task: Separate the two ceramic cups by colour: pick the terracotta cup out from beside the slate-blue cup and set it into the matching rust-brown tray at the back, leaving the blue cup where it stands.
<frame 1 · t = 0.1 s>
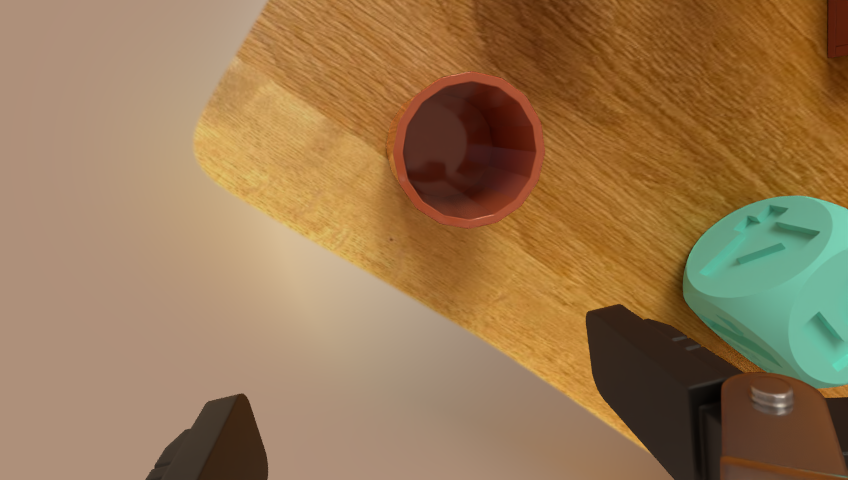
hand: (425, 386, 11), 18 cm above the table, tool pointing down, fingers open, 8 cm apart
decorative dice: (735, 270, 32), on the table
terracotta cup: (441, 146, 28), on the table
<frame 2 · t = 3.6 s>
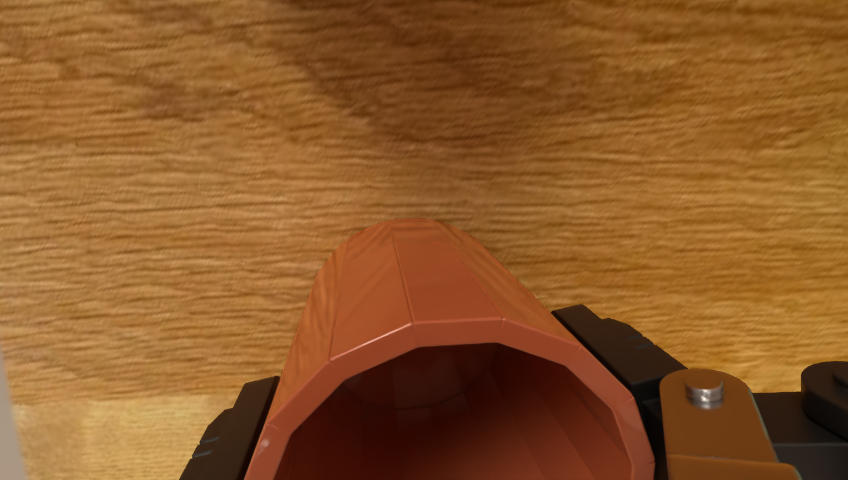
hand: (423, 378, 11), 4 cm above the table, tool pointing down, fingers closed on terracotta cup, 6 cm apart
terracotta cup: (410, 317, 15), on the table, touching gripper
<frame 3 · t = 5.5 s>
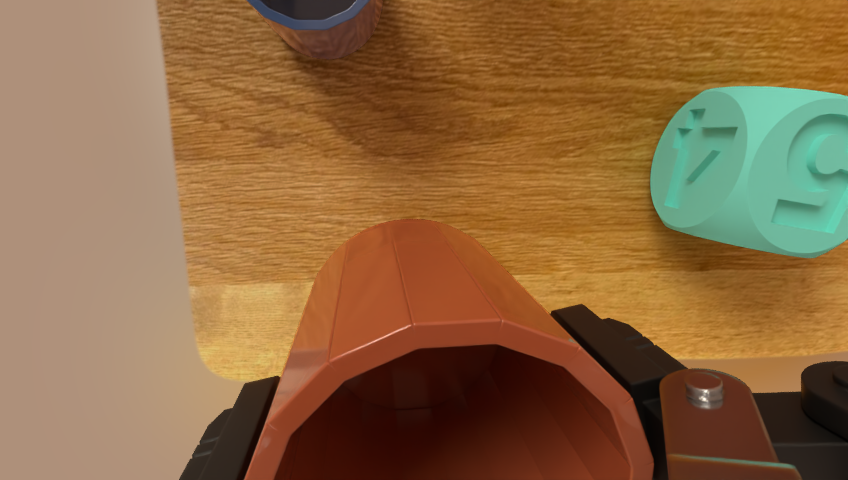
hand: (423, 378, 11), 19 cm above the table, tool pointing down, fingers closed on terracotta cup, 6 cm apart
decorative dice: (705, 167, 31), on the table
terracotta cup: (410, 318, 15), point 15 cm above the table, touching gripper
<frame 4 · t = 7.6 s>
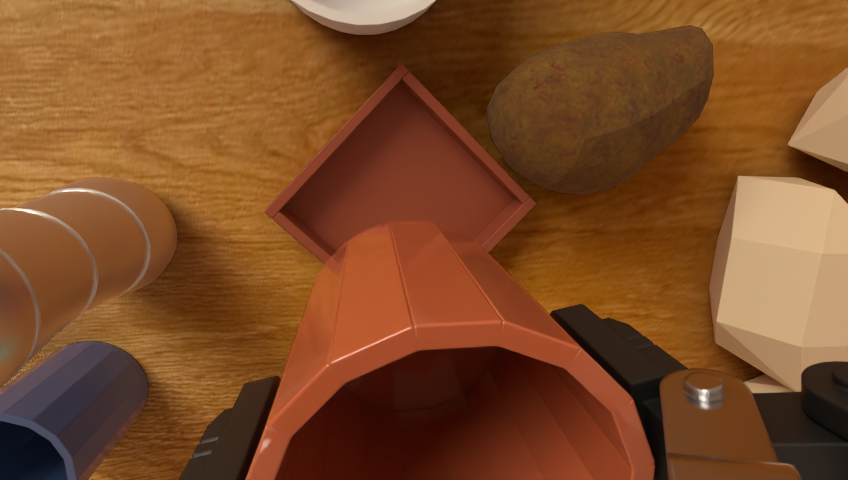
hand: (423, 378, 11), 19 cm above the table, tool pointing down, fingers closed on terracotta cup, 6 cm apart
terracotta cup: (410, 319, 15), point 16 cm above the table, touching gripper
blue cup: (94, 387, 30), on the table
potato: (566, 118, 30), on the table
rust tray: (401, 201, 30), on the table
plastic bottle: (132, 227, 29), on the table
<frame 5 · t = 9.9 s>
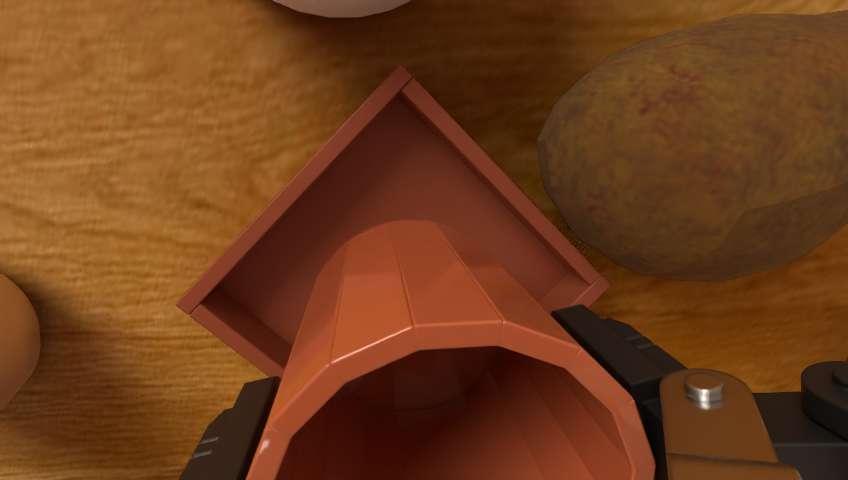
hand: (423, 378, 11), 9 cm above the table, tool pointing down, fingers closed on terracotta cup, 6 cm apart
terracotta cup: (411, 318, 15), point 5 cm above the table, touching gripper
potato: (650, 149, 20), on the table
rust tray: (399, 274, 20), on the table
when the fingers open (4 cm above the table, at t = 11.6 s): terracotta cup stays where it is, resting on rust tray.
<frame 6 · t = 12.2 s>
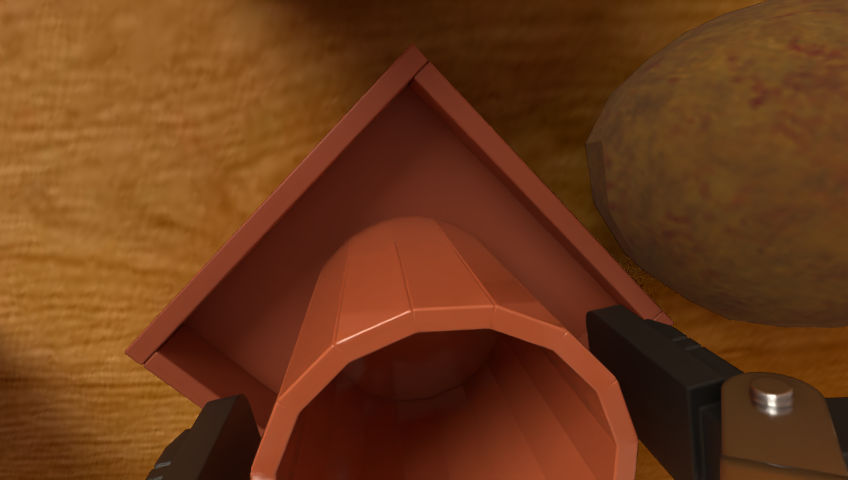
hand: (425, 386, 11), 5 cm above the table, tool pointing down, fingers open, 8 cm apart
terracotta cup: (411, 312, 16), resting on rust tray
potato: (715, 152, 16), on the table
rust tray: (408, 306, 16), on the table
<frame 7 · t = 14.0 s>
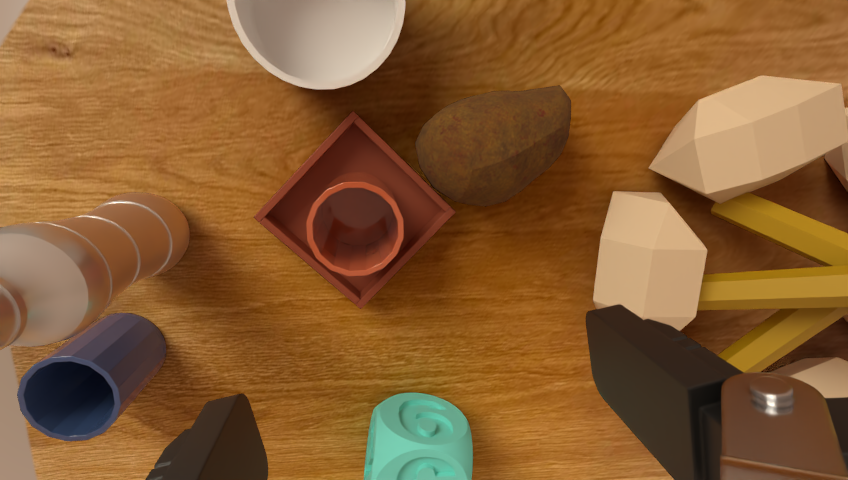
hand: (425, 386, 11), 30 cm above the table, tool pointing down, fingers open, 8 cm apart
decorative dice: (411, 428, 45), on the table
terracotta cup: (357, 210, 40), resting on rust tray
blue cup: (126, 348, 40), on the table
potato: (482, 147, 40), on the table
rust tray: (357, 209, 40), on the table
campfire: (746, 271, 46), on the table
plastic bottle: (156, 227, 39), on the table
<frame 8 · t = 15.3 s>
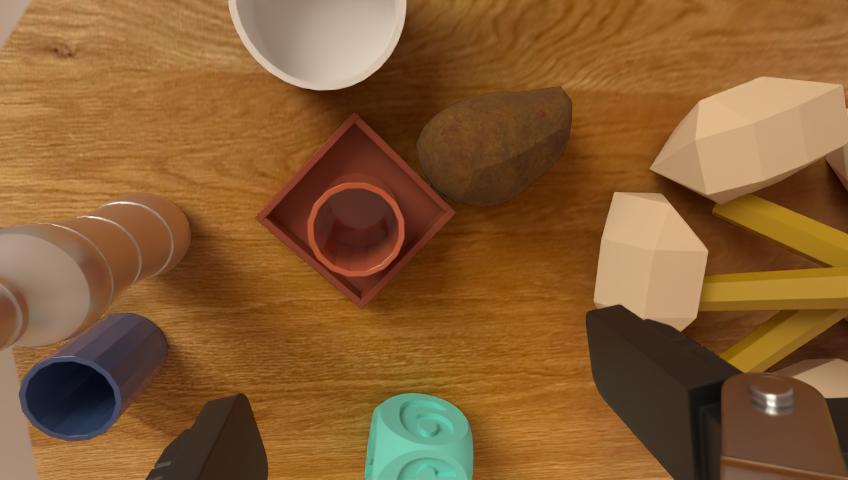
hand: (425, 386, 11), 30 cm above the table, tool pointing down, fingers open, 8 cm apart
decorative dice: (411, 428, 45), on the table
terracotta cup: (358, 211, 40), resting on rust tray
blue cup: (127, 348, 40), on the table
potato: (483, 148, 40), on the table
rust tray: (358, 210, 40), on the table
campfire: (747, 272, 46), on the table
saucepan: (378, 0, 37), on the table
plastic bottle: (157, 228, 39), on the table
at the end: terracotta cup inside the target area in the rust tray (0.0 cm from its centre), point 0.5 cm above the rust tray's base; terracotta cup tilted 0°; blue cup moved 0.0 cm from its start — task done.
